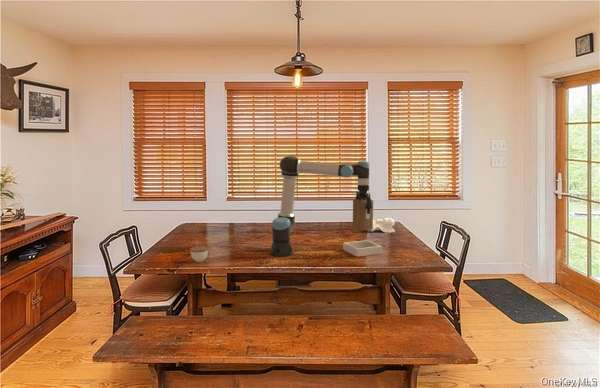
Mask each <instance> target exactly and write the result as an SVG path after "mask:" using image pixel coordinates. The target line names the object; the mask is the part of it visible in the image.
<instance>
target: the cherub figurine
mask: <svg viewBox="0 0 600 388" xmlns="http://www.w3.org/2000/svg"><path fill="white" fill-rule="evenodd" d="M395 223H396V221H395V219H393V218H392V217H384V218H383V219H380V218H377V219H376V220H374V219H373V229H370V231H371V232H374V231H376V230H377V229H379V230H380V231H382V232H384V233H386V234H388V233H389V234H390V233H391V234H393V233H395V232H396V230H395V228H393V226H394V225H395Z"/></svg>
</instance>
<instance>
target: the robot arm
mask: <svg viewBox="0 0 600 388" xmlns="http://www.w3.org/2000/svg"><path fill="white" fill-rule="evenodd" d="M279 169H280V171H281V177H282V178H283V182H282V190H281V191H282V192H281V193H282V194H281V205H280V212H279V213H278V214H277V218H274V219H273V220H272V224H271V226H272V231H271V232H272V243H271V246H270V250H269V254H270V255H271V256H274V257H288V256H292V255H293V253H294V250H293V247H292V243H291V232H293V231H294V229H295V227H296V221H295V220H296V219H295V218H296V216H295V215H296V214H294V206H295V205H294V204H295V193H296V184H297V183H296V181H297V178H298V177H299V174H301V173H303V174H312V175H323V176H331V177H332V176H336V177H343V178H350V177H352V176H353V177H354V176H357V191H356V195H355V199H363V200H367V203H366V217H365V219H370V208H372V204H371V200H372V199H371V193H370V192H369V190H370V185H369V184H370V162H369V161H364V160H362V161H358V162H357V163H356V164H355V163H354V164H351V163H349V164H348V163H344V164H342V163H341V164H339V163H338V164H337V163H328V162H318V161H317V162H316V161H307V160H306V161H304V160H301V159H300V158H298V157H296V156H294V155H288V156H284V157H283V158H281V160H280V162H279Z"/></svg>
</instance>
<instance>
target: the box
mask: <svg viewBox="0 0 600 388" xmlns="http://www.w3.org/2000/svg"><path fill="white" fill-rule="evenodd" d="M342 244H343V245H342V246H343V247H342V249H343V251H344V252H347V253H349V254H350V255H352V256H355V257H357V258H358V257H359V258H360V257H367V256H368V257H369V256H374V255H382V254H383V246H381V245H379V244H378V243H376V242H375V243H374V242H372V241H370V240H368V239H366V240H357V241H348V242H347V241H346V242H342Z"/></svg>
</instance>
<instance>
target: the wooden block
mask: <svg viewBox="0 0 600 388" xmlns="http://www.w3.org/2000/svg"><path fill="white" fill-rule="evenodd" d="M366 203H367V200H363V199H356V198H354V199H353V200H352V228H353V230H357V231H362V232H363V231H370V230H371V229H373V220H374V200H373V199H371V204H372V208H370V219H365V217H366Z"/></svg>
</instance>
